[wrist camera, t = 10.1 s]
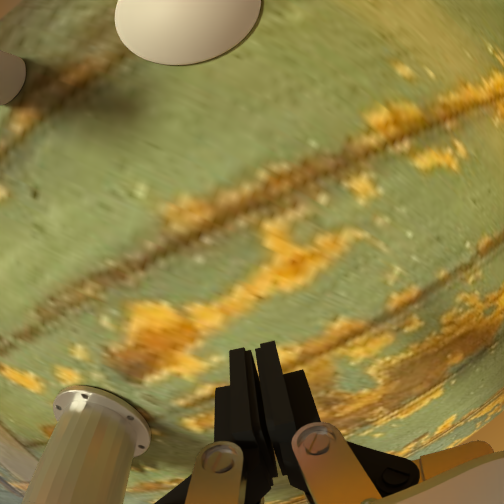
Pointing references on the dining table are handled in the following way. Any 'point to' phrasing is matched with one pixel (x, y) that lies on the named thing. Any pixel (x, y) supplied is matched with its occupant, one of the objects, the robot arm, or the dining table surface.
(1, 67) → the beverage can
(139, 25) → the disc
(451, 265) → the dining table surface
